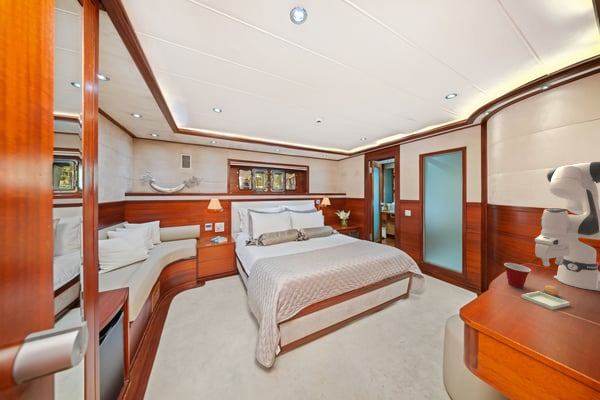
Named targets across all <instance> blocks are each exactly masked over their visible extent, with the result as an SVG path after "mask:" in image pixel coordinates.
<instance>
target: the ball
mask: <svg viewBox="0 0 600 400" xmlns="http://www.w3.org/2000/svg"><path fill="white" fill-rule="evenodd" d="M543 291H545V293H547V294H549V295H552V296H556V295H559V292H560V291H559V289H558V288H556V287H555V286H553V285H545V286H544V287H543Z"/></svg>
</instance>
